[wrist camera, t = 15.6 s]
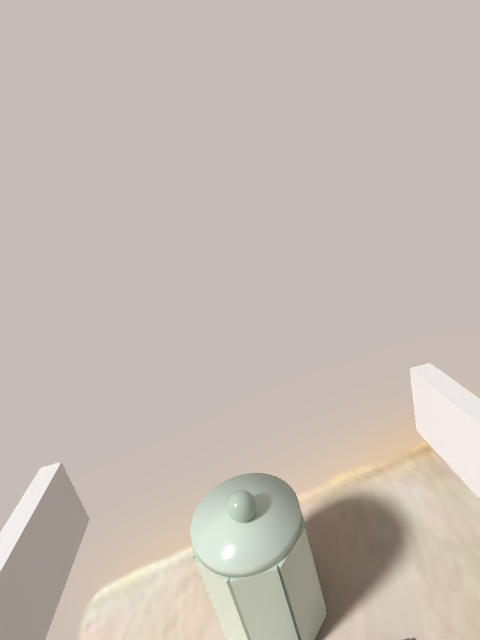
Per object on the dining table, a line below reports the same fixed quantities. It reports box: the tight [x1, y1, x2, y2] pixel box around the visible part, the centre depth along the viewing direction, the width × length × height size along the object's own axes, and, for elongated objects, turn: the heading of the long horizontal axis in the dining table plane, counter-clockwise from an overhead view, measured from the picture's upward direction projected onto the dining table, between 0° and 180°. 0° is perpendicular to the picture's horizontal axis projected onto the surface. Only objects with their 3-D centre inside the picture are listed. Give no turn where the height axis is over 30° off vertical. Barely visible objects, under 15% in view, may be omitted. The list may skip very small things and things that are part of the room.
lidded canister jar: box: [191, 473, 327, 640], centre depth 35 cm, size 10×10×14 cm
